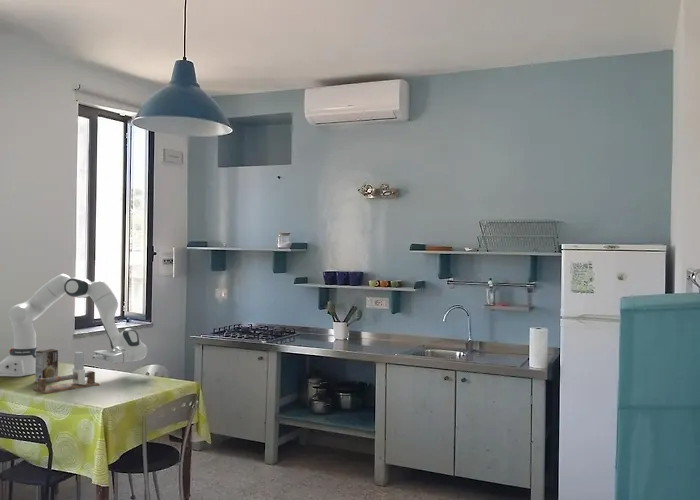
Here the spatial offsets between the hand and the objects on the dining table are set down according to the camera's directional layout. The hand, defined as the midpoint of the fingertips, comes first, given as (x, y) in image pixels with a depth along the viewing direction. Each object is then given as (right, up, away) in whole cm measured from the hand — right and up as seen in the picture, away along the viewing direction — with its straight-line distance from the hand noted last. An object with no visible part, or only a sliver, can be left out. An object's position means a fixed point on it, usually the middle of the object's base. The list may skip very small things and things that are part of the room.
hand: (93, 357), depth 333 cm
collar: (-5, -12, -6) cm, 14 cm away
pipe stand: (-9, -13, -10) cm, 19 cm away
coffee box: (-26, -13, +4) cm, 29 cm away
